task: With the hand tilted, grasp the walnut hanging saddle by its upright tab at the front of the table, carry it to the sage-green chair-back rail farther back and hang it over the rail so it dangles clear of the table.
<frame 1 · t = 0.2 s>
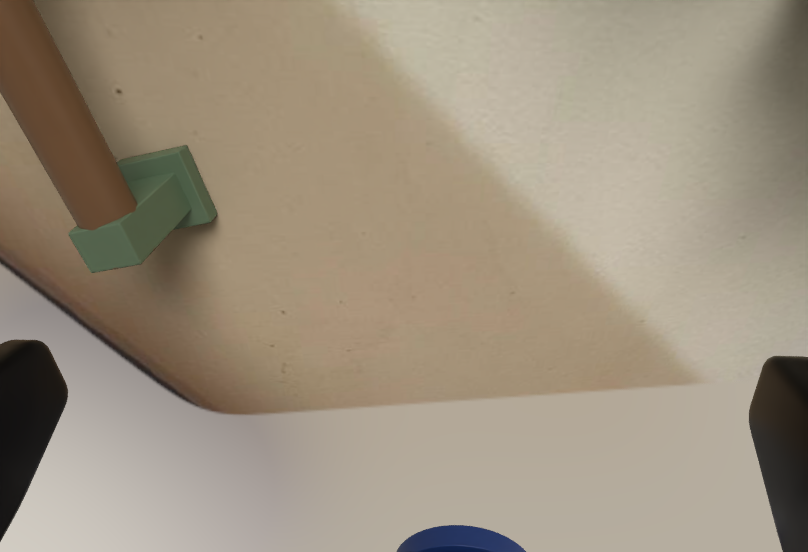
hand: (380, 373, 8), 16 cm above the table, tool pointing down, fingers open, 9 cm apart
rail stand: (102, 46, 22), on the table
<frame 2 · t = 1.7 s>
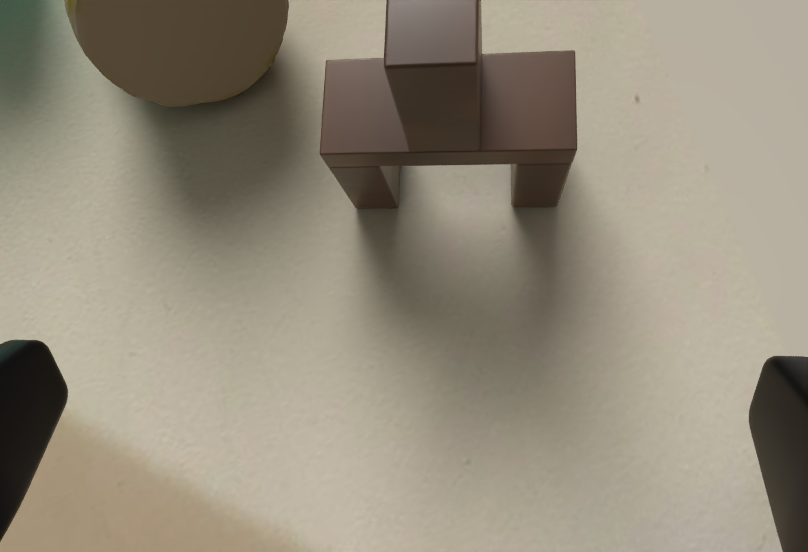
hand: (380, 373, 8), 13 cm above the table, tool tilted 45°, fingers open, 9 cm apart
saddle: (455, 168, 22), on the table
flowered bud vase: (196, 12, 26), on the table
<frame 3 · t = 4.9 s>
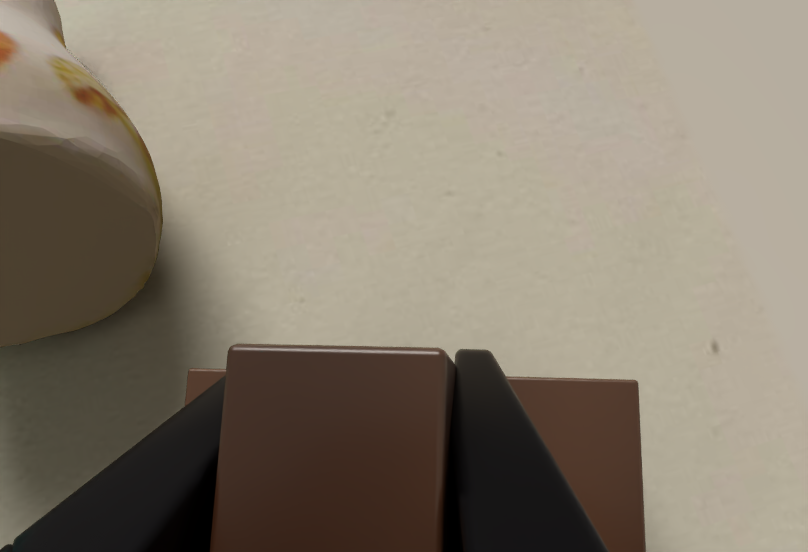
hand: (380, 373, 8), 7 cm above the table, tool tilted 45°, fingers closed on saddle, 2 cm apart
saddle: (428, 451, 14), on the table, touching gripper
flowered bud vase: (54, 174, 17), on the table
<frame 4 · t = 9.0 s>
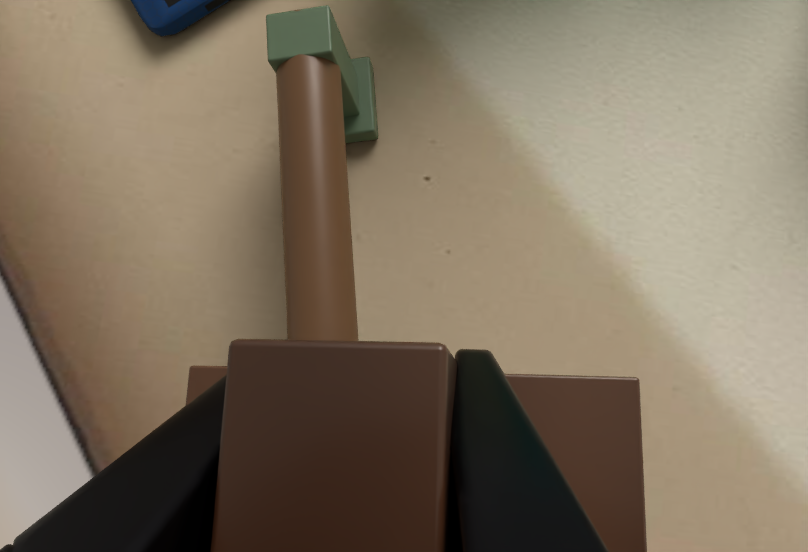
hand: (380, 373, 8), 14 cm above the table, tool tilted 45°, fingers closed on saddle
saddle: (429, 449, 14), point 7 cm above the table, touching gripper
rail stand: (346, 248, 22), on the table
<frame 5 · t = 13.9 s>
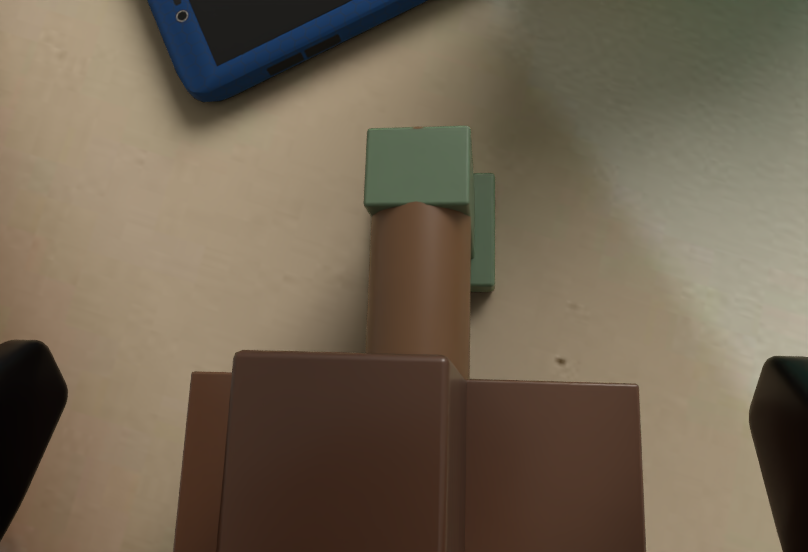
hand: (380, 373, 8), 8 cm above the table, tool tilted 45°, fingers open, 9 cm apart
saddle: (429, 453, 14), point 1 cm above the table, touching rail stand
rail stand: (432, 450, 15), on the table
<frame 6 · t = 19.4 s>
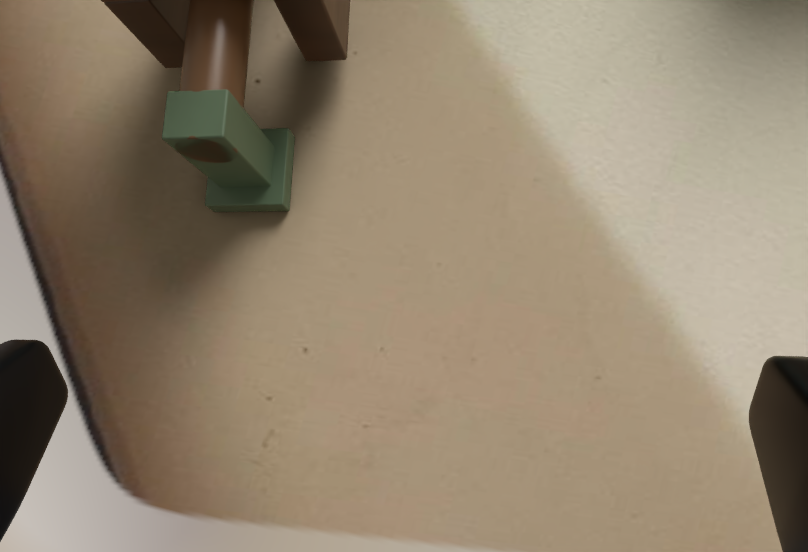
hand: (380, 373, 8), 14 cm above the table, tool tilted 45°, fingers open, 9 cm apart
saddle: (257, 29, 24), point 1 cm above the table, touching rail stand
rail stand: (266, 44, 25), on the table
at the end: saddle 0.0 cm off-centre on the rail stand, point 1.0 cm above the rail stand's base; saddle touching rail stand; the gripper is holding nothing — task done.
